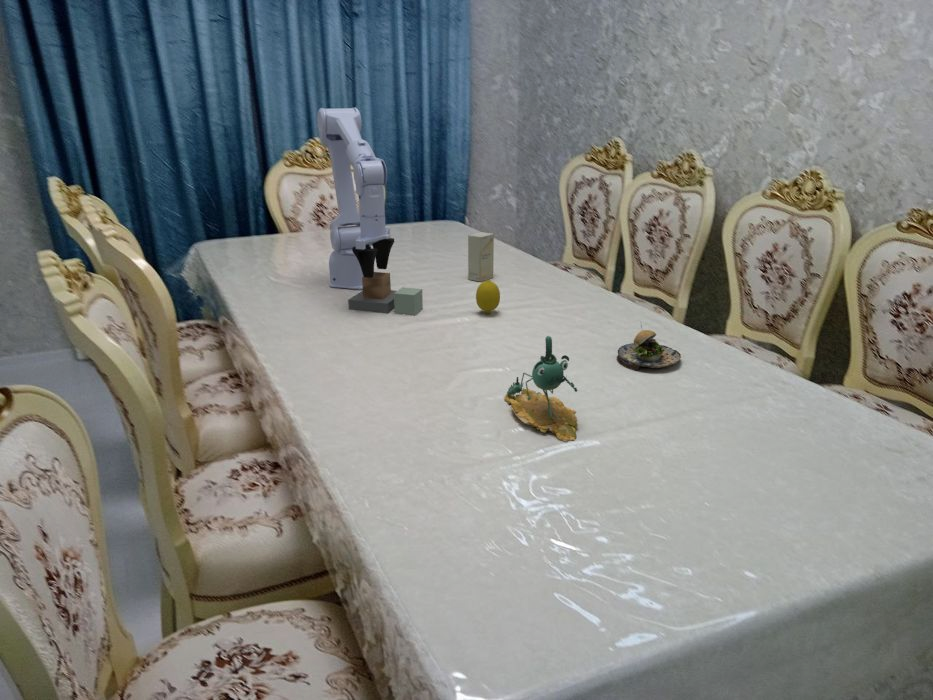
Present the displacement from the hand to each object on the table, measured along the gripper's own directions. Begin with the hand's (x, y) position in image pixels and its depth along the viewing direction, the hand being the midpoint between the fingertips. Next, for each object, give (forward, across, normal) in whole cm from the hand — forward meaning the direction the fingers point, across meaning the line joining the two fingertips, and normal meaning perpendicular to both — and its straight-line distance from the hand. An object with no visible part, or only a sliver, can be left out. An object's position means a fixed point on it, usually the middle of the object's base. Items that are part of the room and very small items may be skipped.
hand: (375, 272), depth 156 cm
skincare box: (+8, +30, -17) cm, 35 cm away
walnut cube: (+6, 0, 0) cm, 6 cm away
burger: (+8, -16, -64) cm, 67 cm away
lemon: (+8, +2, -27) cm, 28 cm away
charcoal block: (+8, 0, 0) cm, 9 cm away
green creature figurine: (+8, -44, -49) cm, 67 cm away
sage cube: (+8, -2, -9) cm, 12 cm away
